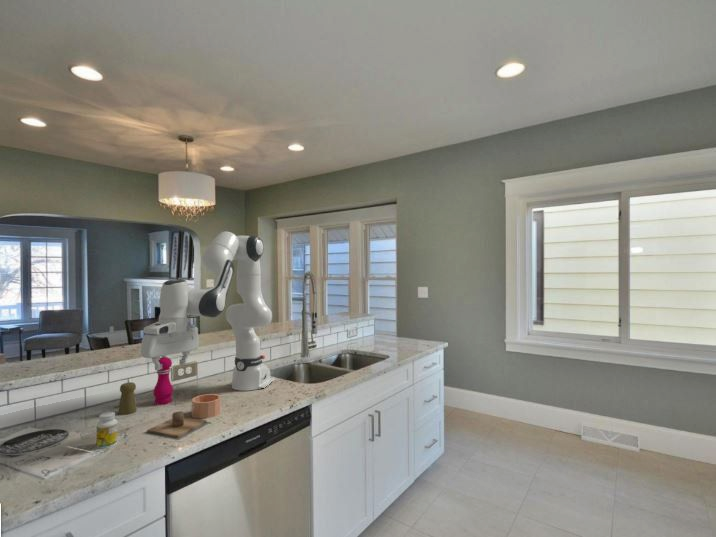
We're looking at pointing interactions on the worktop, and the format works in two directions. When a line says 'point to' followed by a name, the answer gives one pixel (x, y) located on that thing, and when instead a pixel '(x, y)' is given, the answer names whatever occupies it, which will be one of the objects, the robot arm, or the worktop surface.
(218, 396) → the bowl
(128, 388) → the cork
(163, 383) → the pepper mill
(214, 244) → the robot arm
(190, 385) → the worktop surface
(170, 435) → the lid
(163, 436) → the mat
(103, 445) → the supplement bottle
